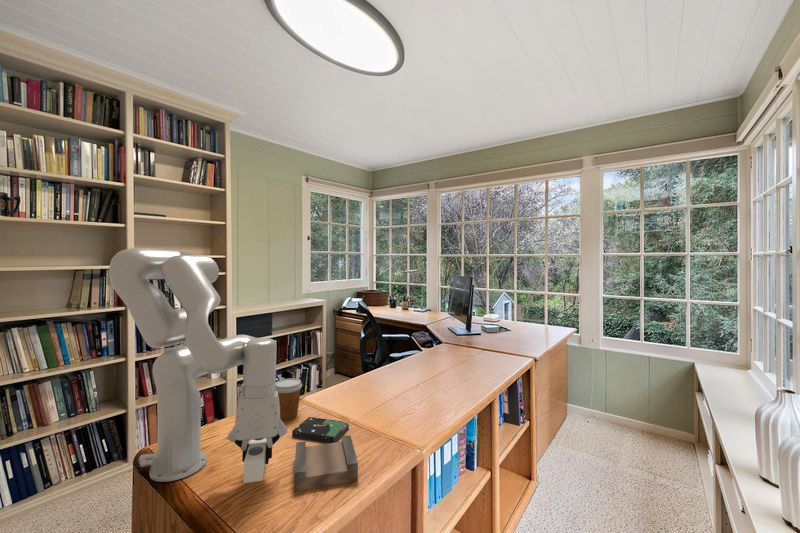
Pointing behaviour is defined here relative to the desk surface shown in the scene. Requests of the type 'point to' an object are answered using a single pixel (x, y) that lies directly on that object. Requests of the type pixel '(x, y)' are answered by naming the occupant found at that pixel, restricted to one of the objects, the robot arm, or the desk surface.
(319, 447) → the display stand
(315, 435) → the disk drive
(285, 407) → the disposable coffee cup
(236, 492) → the desk surface
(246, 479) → the white rectangular block
